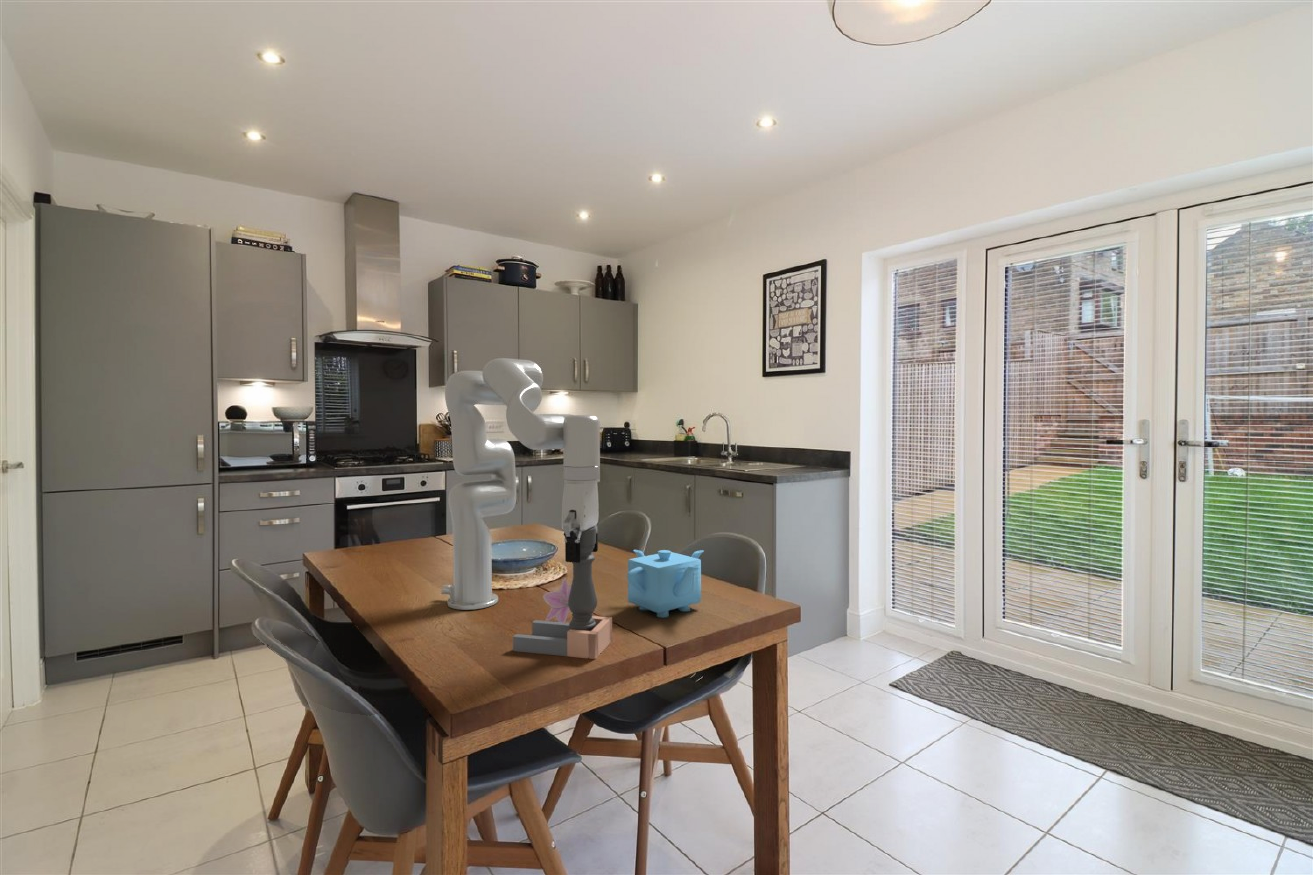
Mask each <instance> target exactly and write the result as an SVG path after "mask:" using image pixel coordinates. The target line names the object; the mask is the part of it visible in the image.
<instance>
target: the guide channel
mask: <svg viewBox="0 0 1313 875" xmlns="http://www.w3.org/2000/svg"><path fill="white" fill-rule="evenodd" d="M592 617H593V619H594V620H595V622H596V627H595V628H594V629H593V630H592V631H583V630H572V629H571V628H570V627H569V623H570V622H565V623H562V622H558V621H550V620H548V621H546V620H539V619H537V620H536V619H535V620H533V621H532V622H531V625H532V626H531V627H532V628H531V629H532V630H531V631H532V635H531V634H519V633H515V635H513V636H512V651H513V652H520V653H531V654H538V655H539V654H540V655H550V656H560V657H561V656H562V657H570V658H581V659H588V658H589V659H590V660H597V658H598V657H599V656H600V655H601V654H600V653H603V652H604V650H605V649H606V648H607V647H608V646H609V645H610V644H611V642H612V641H613V617H611V616H609V617H608V616H598V615H597V616H596V615H593V616H592ZM569 629H570V630H569Z"/></svg>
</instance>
